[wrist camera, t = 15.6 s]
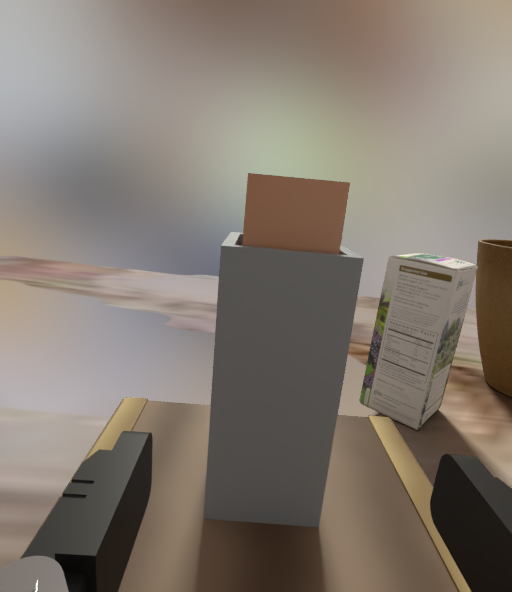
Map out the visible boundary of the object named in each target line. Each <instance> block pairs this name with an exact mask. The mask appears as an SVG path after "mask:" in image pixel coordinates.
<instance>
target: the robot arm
mask: <svg viewBox="0 0 512 592" xmlns="http://www.w3.org/2000/svg"><path fill="white" fill-rule="evenodd" d="M152 445H153V438H152V433H150V432H136V431H123V432H122V433H121V434H120V436H119V438H118V440H117V442H116V443H115V445H114V447H113V449H112V450H101V449H99V450H98V451H96V452H95V453H94V454H93V455H91V456H90V457H89V458H88V459H86V460H85V461H84V462H82V464H81V465H80V467H79V468H78V470H77V472H76V473H75V475H74V476H73V478H72V480H71V483H69V484H68V486H67V487H66V489H65V490H64V492H63V494H62V497H60V498H59V500H58V501H57V503H56V504H55V506H54V508H53V509H52V511H51V512H50V514H49V515H48V517H47V518H46V520H45V522H44V523H43V525H42V526H41V528H40V529H39V531H38V533H37V534H36V536H35V537H34V539H33V540H32V542H31V543H30V545H29V547H28V548H27V550H26V551H25V553H24V554H23V556H22V557H21V558H20V559H19V560H16V561H14V562H12V563H10V564H8V565H6V566H4V567H3V568H1V569H0V592H118V591H119V588H120V585H121V582H122V579H123V576H124V573H125V570H126V567H127V564H128V561H129V558H130V555H131V552H132V549H133V546H134V543H135V540H136V538H137V535H138V532H139V529H140V526H141V523H142V520H143V517H144V514H145V511H146V508H147V505H148V501H149V497H150V492H151V484H152ZM430 511H431V517H432V520H433V523H434V525H435V527H436V529H437V531H438V533H439V534H440V536H441V538H442V540H443V542H444V543H445V545H446V547H447V549H448V551H449V552H450V554H451V556H452V558H453V560H454V561H455V563H456V565H457V567H458V569H459V570H460V572H461V574H462V576H463V578H464V579H465V581H466V583H467V585H468V587H469V588H470V590H471V592H512V488H510V487H509V486H508V485H506V484H505V483H504V482H502V481H501V480H499V479H498V478H496V477H493V476H492V474H491V473H490V472H489V471H488V470H487V469H486V467H485V466H484V465H483V464H482V463H481V462H480V461H479V460H478V459H477V458H476V457H474V456H465V455H451V454H445V455H443V456H442V458H441V460H440V464H439V467H438V471H437V475H436V479H435V483H434V487H433V491H432V495H431V499H430Z"/></svg>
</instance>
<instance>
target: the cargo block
mask: <svg viewBox="0 0 512 592" xmlns="http://www.w3.org/2000/svg"><path fill="white" fill-rule="evenodd" d="M349 185H350V183H347V182H335V181H325V180H315V179H304V178H294V177H283V176H272V175H262V174H251V173H248V182H247V194H246V206H245V219H244V232H243V244H242V246H251V247H262V248H273V249H284V250H296V251H307V252H318V253H329V254H339V252H340V245H341V239H342V232H343V225H344V218H345V212H346V205H347V199H348V192H349Z"/></svg>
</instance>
